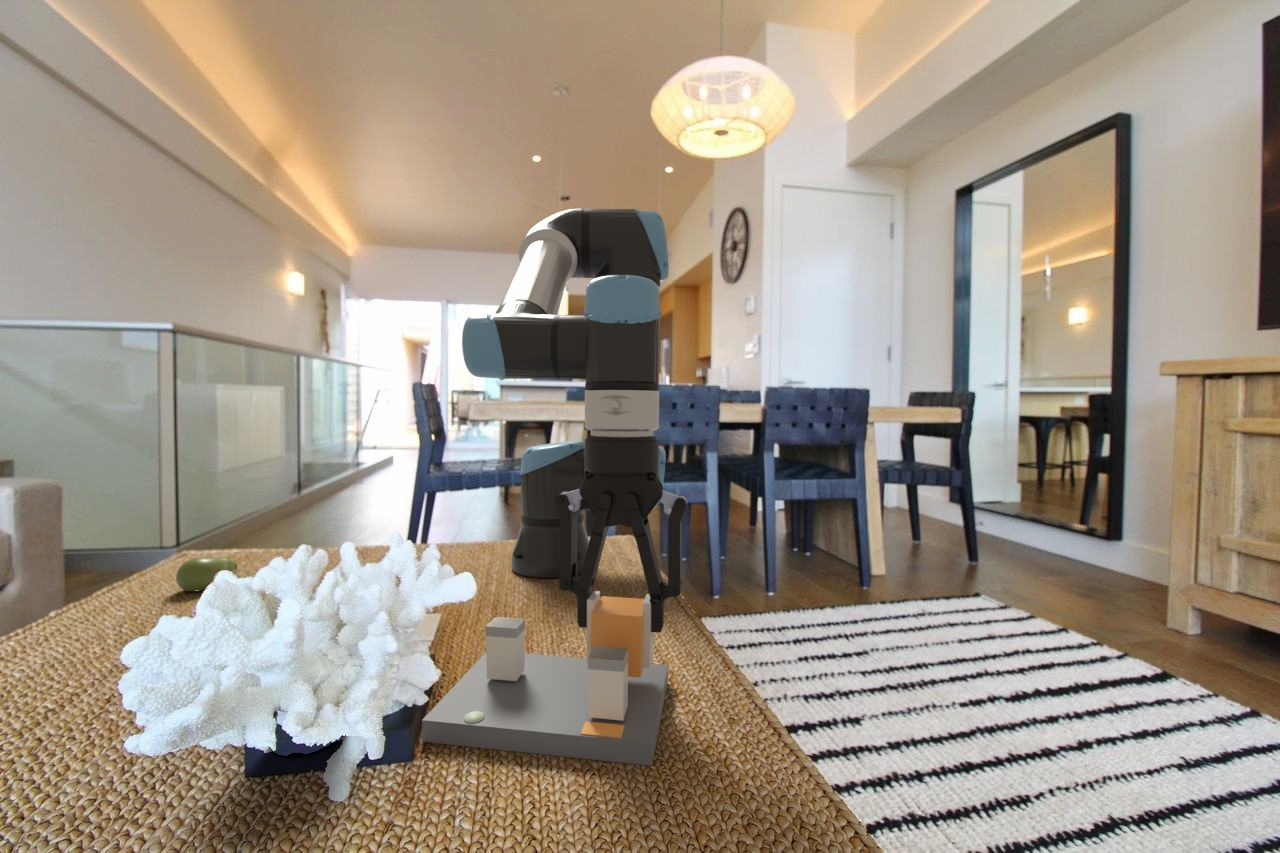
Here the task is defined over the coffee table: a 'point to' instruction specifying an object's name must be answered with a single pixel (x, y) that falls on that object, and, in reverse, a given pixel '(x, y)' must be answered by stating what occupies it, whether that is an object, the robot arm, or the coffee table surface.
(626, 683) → the block
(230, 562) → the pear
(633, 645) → the block
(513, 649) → the block
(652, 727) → the plate
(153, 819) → the coffee table surface
